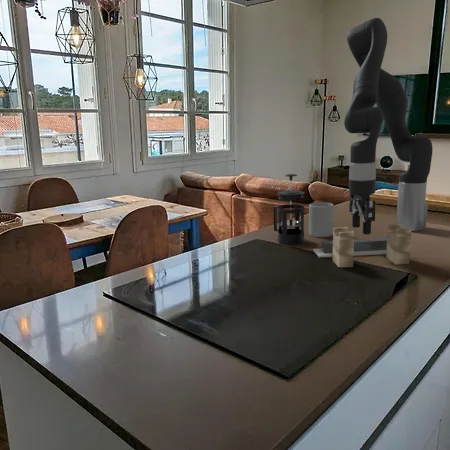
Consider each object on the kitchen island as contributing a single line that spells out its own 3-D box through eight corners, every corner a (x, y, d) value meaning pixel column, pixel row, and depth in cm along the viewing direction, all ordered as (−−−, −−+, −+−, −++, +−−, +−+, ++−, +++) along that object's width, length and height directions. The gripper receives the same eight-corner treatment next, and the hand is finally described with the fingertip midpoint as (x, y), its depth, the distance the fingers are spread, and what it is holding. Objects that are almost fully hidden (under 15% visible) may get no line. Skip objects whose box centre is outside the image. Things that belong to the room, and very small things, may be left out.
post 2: (399, 257, 125) (401, 224, 122) (409, 263, 119) (411, 229, 116) (386, 257, 124) (388, 224, 122) (395, 264, 119) (397, 229, 116)
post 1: (346, 259, 124) (347, 226, 122) (353, 266, 118) (354, 232, 116) (332, 260, 124) (333, 227, 121) (338, 267, 118) (339, 232, 116)
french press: (311, 239, 146) (312, 173, 140) (298, 246, 139) (298, 176, 133) (282, 235, 153) (281, 171, 147) (267, 241, 146) (266, 175, 140)
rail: (390, 246, 133) (390, 237, 132) (394, 249, 130) (395, 240, 129) (321, 250, 132) (321, 241, 131) (323, 253, 129) (324, 243, 128)
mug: (333, 237, 148) (334, 206, 145) (308, 237, 149) (309, 206, 147) (331, 229, 159) (332, 200, 156) (308, 228, 161) (309, 200, 158)
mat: (393, 246, 135) (394, 244, 135) (404, 252, 128) (404, 251, 128) (313, 250, 134) (313, 248, 134) (319, 257, 127) (319, 255, 127)
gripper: (385, 180, 118) (383, 235, 122) (365, 173, 132) (364, 224, 136) (359, 181, 118) (357, 237, 122) (341, 175, 132) (341, 225, 136)
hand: (361, 230), depth 129 cm, fingers open, 8 cm apart
